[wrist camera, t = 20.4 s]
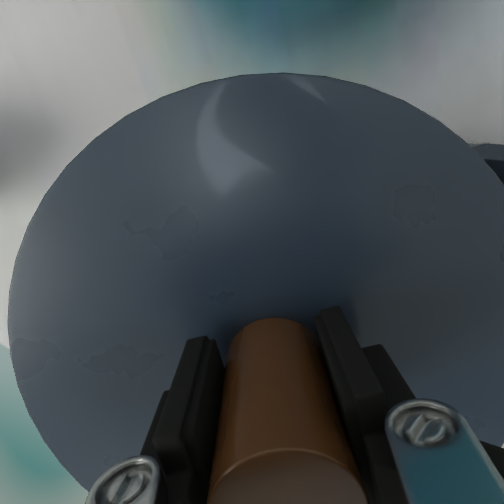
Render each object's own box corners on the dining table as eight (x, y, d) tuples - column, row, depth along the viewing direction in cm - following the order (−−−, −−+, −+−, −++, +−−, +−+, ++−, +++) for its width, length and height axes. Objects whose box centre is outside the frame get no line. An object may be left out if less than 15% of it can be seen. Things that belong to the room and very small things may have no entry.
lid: (-58, 161, 11) (-415, 179, 5) (499, 8, 10) (856, -193, 4) (122, 562, 15) (37, 831, 9) (534, 485, 14) (740, 736, 8)
